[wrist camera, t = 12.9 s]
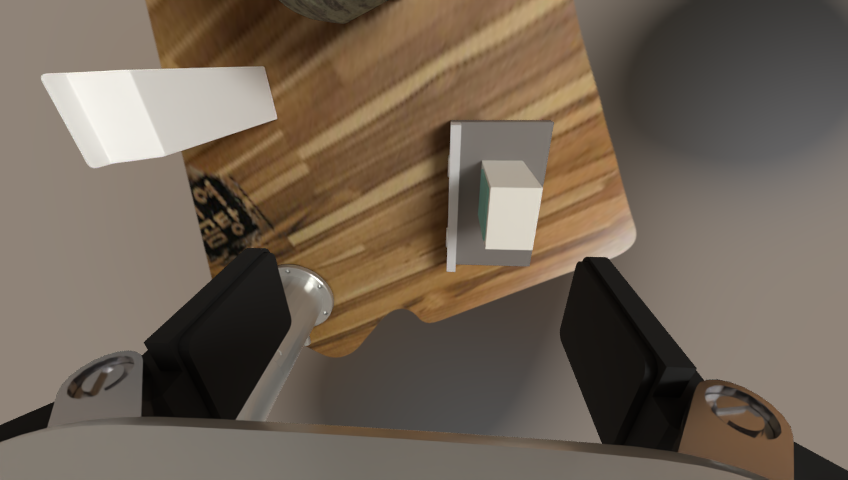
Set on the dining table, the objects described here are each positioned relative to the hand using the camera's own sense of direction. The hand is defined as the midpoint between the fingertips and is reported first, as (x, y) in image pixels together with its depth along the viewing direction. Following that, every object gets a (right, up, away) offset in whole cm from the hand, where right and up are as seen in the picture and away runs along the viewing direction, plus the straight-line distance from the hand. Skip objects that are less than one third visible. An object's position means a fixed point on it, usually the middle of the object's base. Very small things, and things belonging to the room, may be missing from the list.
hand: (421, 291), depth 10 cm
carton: (+10, +8, +32) cm, 35 cm away
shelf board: (+9, +7, +34) cm, 36 cm away
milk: (-22, +20, +30) cm, 42 cm away
